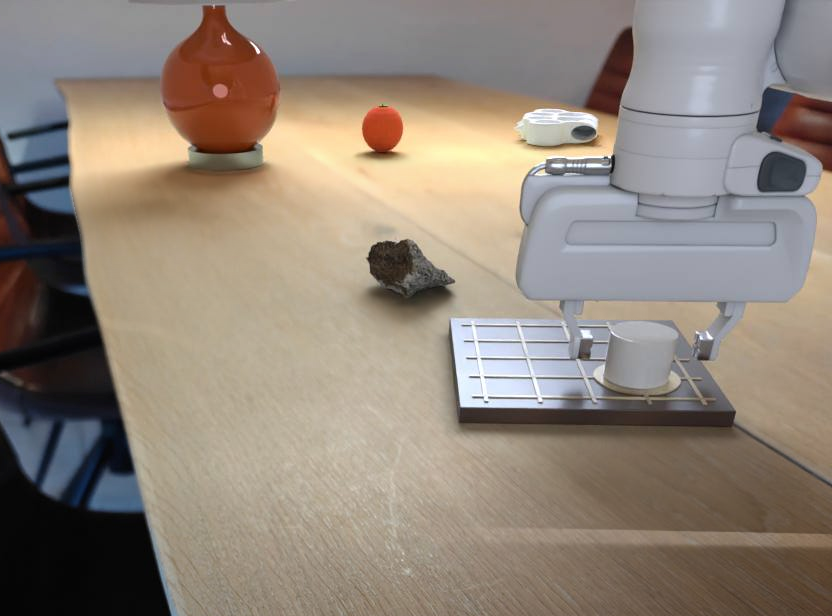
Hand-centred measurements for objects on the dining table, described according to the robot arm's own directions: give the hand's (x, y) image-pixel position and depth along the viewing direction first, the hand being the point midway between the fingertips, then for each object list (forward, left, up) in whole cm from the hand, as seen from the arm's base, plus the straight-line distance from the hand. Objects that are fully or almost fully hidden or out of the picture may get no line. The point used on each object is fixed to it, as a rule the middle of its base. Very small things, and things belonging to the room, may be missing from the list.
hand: (640, 357), depth 70 cm
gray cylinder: (0, 0, -2) cm, 2 cm away
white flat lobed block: (-9, -118, -3) cm, 118 cm away
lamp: (+47, -93, -3) cm, 104 cm away
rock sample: (+18, -26, -3) cm, 32 cm away
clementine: (+22, -104, -3) cm, 106 cm away
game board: (+4, -4, -3) cm, 6 cm away
